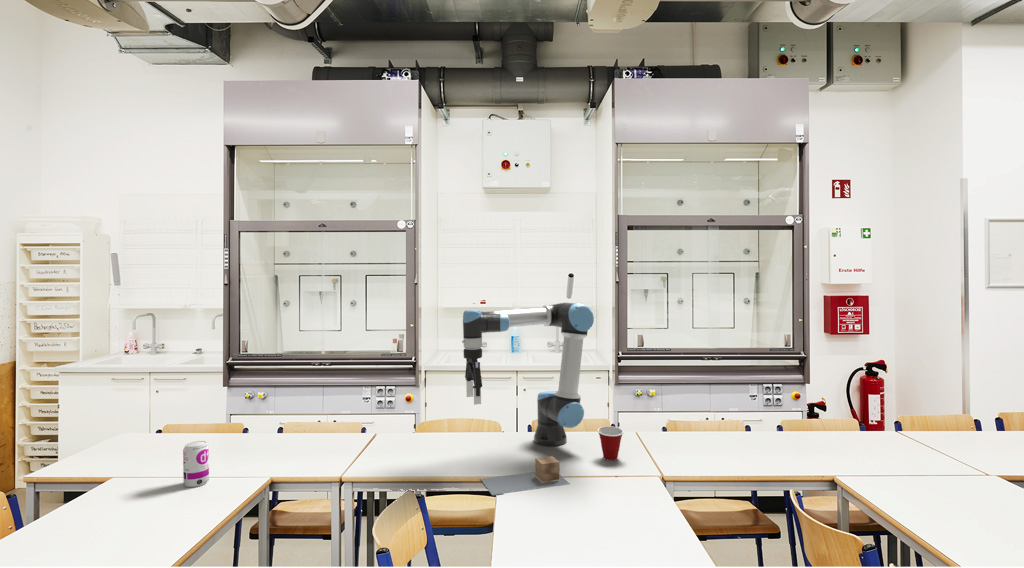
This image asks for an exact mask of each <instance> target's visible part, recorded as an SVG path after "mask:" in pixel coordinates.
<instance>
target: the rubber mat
mask: <svg viewBox="0 0 1024 568" xmlns="http://www.w3.org/2000/svg"><path fill="white" fill-rule="evenodd" d="M479 480H480V481H481V483H483V485H484V486H485V488H486V489H487V491H488V492H489V494H490V495H491V496H501V495H504V494H509V493H516V492H524V491H532V490H538V489H539V490H540V489H545V488H546V489H547V488H551V487H552V488H554V487H559V486H560V487H561V486H567V485H571V483H570V482H569V481H568V480H567V479H565V478H564V477H563V476H562V475H561V474H560V473H559V481H552V482H545V483H542V482H541V481H540V480H539V479H538V478H537V477H536V476H535V471H531V472H523V473H515V474H508V475H507V474H506V475H499V476H491V477H485V478H480V479H479Z"/></svg>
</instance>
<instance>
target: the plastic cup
mask: <svg viewBox="0 0 1024 568" xmlns="http://www.w3.org/2000/svg"><path fill="white" fill-rule="evenodd" d="M597 433H598V434H599V435H598V436H599V439H600V445H601V451H602V456H603V459H604V458H605V459H604V460H607V459H608V461H615V459H616V460H618V457H619V451H620V446H621V442H622V441H621V440H622V437H623V434H624V430H623V429H622V428H620V427H616V426H611V425H607V426H600V427H599V428H597Z"/></svg>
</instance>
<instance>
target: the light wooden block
mask: <svg viewBox="0 0 1024 568" xmlns="http://www.w3.org/2000/svg"><path fill="white" fill-rule="evenodd" d="M534 464H535V465H534V468H535V469H534V472H535V476H536V477H537V478H538V479H539V480H540V481H541V482H542V483H545V482H552V481H559V474H560V461H559V460H557V458H555V457H554V456H552V455H551V456H550V455H548V456H541V457H535V459H534Z"/></svg>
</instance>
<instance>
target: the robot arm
mask: <svg viewBox="0 0 1024 568" xmlns="http://www.w3.org/2000/svg"><path fill="white" fill-rule="evenodd" d="M462 314H463V315H462V329H463V330H462V331H463V332H462V333H463V334H462V335H463V340H462V341H461V342H462V344H463V359H466V362H465V363H466V365H465V375H464V378H465V381H466V384H465V385H466V387H465V388H466V389H465V390H466V398H472V397H473V405H482V387H483V382H482V381H483V379H482V373H481V362H480V361H478V359H481V358H482V357H483V349H482V347H483V334H486V333H502V332H507V331H508V330H509V328H513V327H527V326H538V325H539V326H540V325H543V326H545V327H557V328H560V333H561V335H563V342H562V343H563V344H562V352H561V363H560V372H559V381H558V388H557V389H558V390H547V391H541V392H539V393H538V394H537V398H536V399H537V400H536V402H537V425H536V428H535V432H534V436H533V442H534V443H535V444H537V445H540V446H547V447H555V446H556V447H557V446H562V445H564V444H566V443H567V440H568V438H567V433H566V431H565V428H567V429H572V428H576V427H577V426H579V424H581V423H582V421H583V419H584V415H585V409H584V407H583V406H582V404H581V400H582V399H581V395H580V394H579V383H580V375H581V363H582V354H583V344H584V339H585V338H586V337H588V331H589V330H590V329H591V328H592V326H593V325H594V321H595V320H594V319H595V318H594V314H593V311H592V309H591V308H590V307H589V306H587V305H585V304H583V303H577V302H576V303H573V302H572V303H571V302H560V303H559V302H558V303H556V304H546V305H545V304H544V305H543V306H542V307H537V308H535V307H534V308H523V309H522V308H520V309H510V310H509V309H505V310H496V311H495V310H493V311H482V310H481V309H467V310H464V311H463V313H462Z"/></svg>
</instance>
